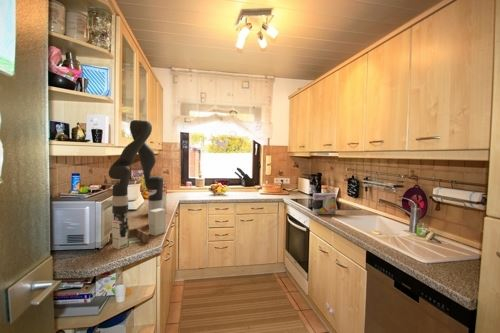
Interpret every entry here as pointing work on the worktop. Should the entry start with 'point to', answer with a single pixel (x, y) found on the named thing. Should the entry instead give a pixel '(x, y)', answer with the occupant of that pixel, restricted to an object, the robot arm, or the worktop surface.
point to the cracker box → (151, 192)
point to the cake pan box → (324, 203)
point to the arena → (135, 236)
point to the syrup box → (119, 235)
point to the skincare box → (157, 221)
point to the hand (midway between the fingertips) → (120, 235)
